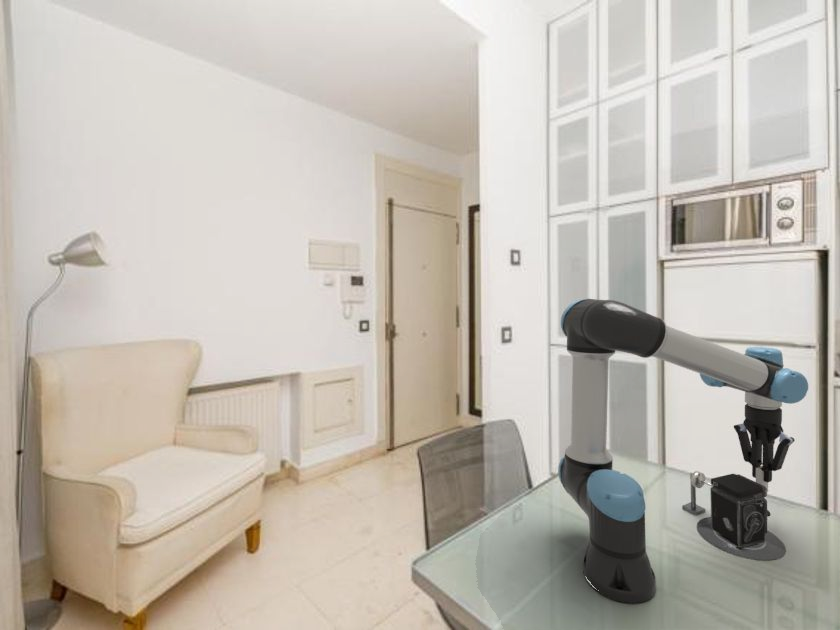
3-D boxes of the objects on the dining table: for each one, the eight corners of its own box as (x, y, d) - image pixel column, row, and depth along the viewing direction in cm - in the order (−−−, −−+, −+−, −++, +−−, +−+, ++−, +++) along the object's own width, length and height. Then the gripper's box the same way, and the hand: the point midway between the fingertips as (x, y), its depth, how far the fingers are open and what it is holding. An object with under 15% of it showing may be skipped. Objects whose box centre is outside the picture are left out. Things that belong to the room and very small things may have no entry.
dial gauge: (712, 524, 109) (711, 481, 109) (681, 509, 117) (680, 469, 117) (722, 519, 111) (721, 477, 110) (691, 505, 119) (690, 465, 118)
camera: (779, 545, 99) (778, 487, 98) (743, 553, 97) (742, 494, 96) (738, 521, 109) (737, 469, 108) (706, 528, 107) (704, 474, 106)
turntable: (757, 569, 92) (757, 568, 92) (681, 528, 109) (681, 527, 109) (802, 546, 98) (801, 545, 98) (723, 510, 115) (723, 509, 115)
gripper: (802, 410, 101) (800, 499, 102) (744, 397, 113) (743, 478, 114) (784, 414, 98) (782, 506, 99) (727, 401, 110) (726, 483, 112)
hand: (761, 491), depth 107 cm, fingers closed
